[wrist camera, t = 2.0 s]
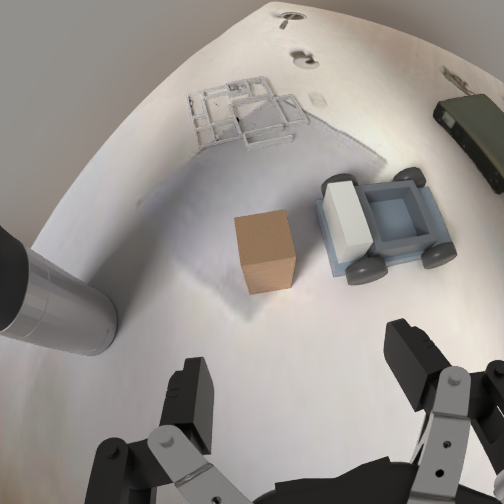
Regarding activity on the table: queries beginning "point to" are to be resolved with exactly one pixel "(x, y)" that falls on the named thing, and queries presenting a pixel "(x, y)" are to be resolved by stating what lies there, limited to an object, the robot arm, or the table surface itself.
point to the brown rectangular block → (266, 251)
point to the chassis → (381, 226)
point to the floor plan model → (253, 99)
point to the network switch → (477, 133)
